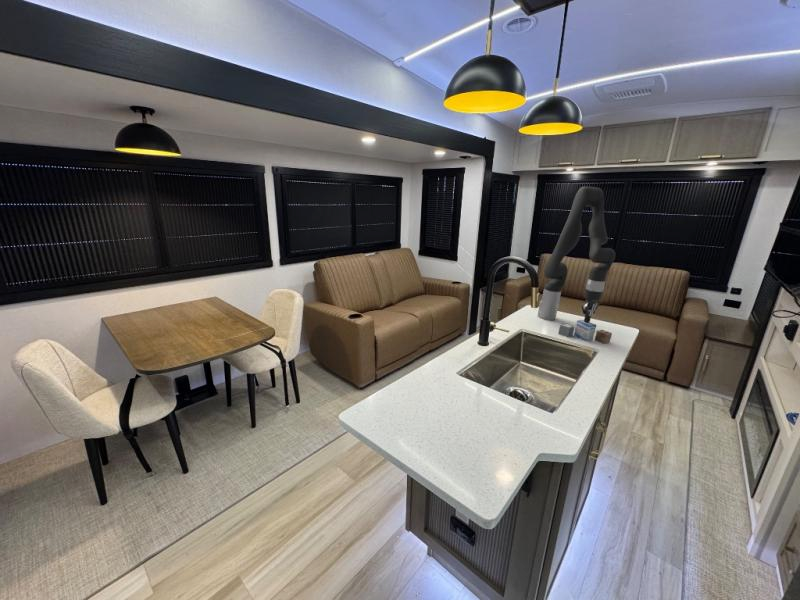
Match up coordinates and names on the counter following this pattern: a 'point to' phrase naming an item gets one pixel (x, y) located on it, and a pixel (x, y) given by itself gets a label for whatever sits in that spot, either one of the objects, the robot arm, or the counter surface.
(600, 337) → the walnut block
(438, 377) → the counter surface
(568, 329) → the slate block
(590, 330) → the medicine box
